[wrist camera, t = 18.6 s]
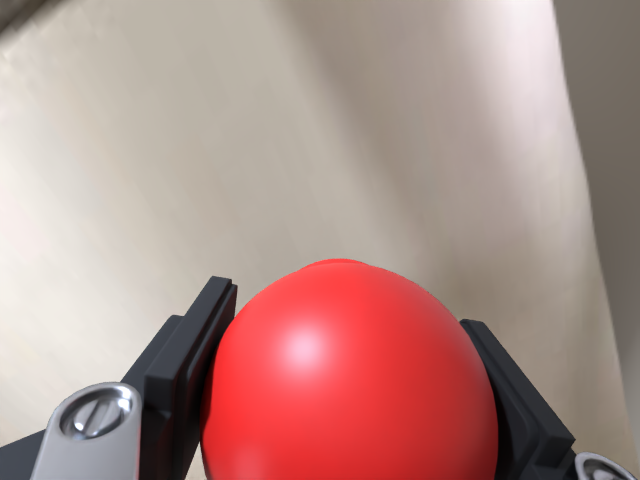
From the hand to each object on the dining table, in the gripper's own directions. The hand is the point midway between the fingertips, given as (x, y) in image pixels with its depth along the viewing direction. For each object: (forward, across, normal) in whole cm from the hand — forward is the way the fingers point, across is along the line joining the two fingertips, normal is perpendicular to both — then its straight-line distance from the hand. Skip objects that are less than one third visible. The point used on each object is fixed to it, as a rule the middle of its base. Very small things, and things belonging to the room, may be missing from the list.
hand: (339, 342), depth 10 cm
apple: (+1, 0, 0) cm, 1 cm away
